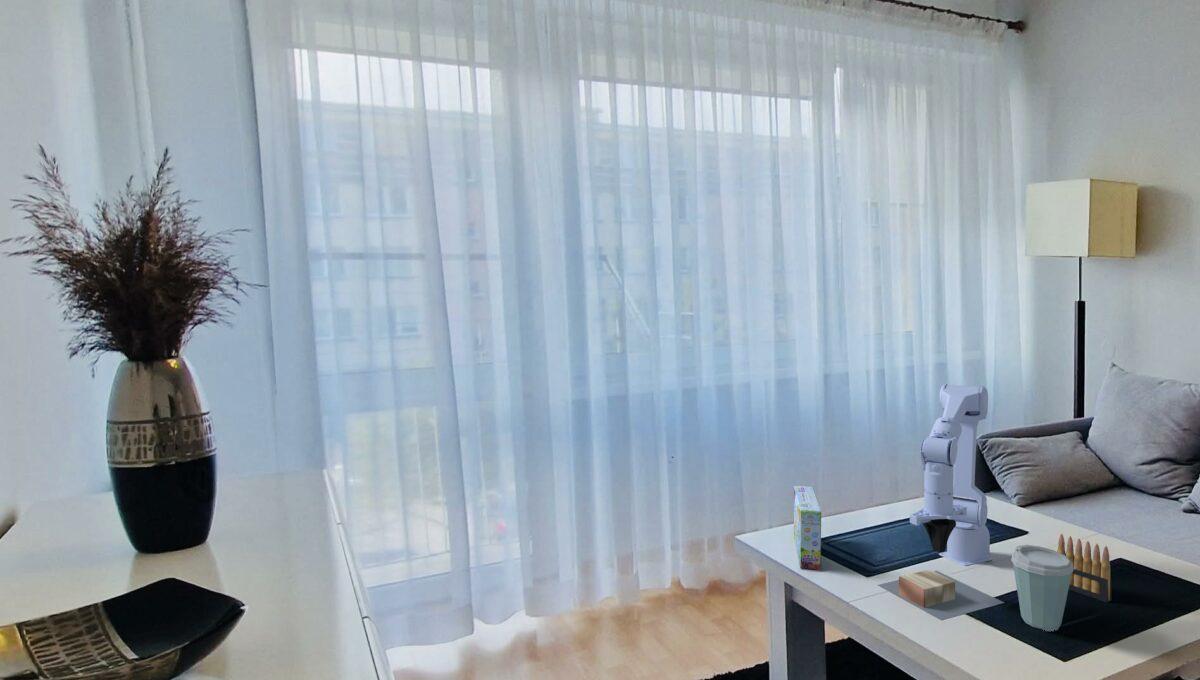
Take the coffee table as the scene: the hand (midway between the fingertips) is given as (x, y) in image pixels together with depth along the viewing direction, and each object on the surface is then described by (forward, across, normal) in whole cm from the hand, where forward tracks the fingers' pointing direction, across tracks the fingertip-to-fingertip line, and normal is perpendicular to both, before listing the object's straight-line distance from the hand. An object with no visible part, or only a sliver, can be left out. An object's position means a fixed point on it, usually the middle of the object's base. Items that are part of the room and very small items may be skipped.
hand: (938, 550), depth 150 cm
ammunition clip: (+11, +29, -12) cm, 33 cm away
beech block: (+8, +1, 0) cm, 8 cm away
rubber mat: (+10, 0, 0) cm, 10 cm away
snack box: (+11, -11, +32) cm, 35 cm away
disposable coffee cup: (+10, +8, -18) cm, 22 cm away
